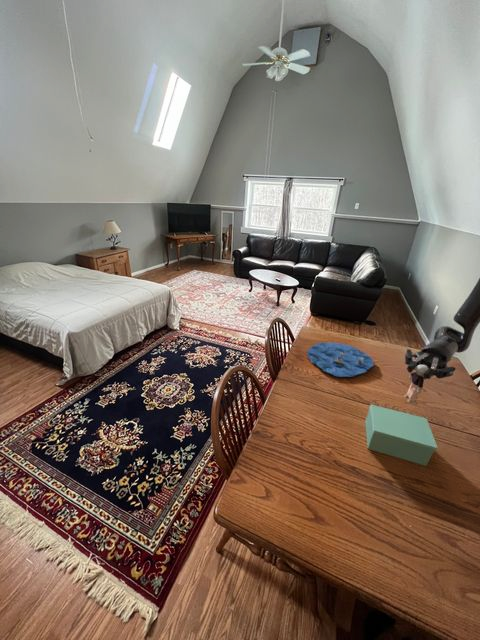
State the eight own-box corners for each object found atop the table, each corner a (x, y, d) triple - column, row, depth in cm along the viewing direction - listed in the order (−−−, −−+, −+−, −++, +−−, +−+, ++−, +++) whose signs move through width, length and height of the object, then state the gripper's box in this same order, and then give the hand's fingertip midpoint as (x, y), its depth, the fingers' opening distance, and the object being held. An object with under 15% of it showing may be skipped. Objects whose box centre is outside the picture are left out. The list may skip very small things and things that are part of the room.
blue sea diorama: (300, 371, 118) (302, 361, 115) (311, 340, 143) (313, 331, 140) (374, 388, 107) (377, 377, 105) (372, 351, 132) (374, 342, 130)
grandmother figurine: (423, 407, 80) (438, 373, 75) (411, 407, 80) (425, 372, 75) (409, 390, 87) (422, 357, 82) (397, 390, 87) (409, 357, 81)
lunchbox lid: (425, 420, 83) (426, 418, 83) (436, 450, 74) (437, 448, 73) (370, 406, 88) (370, 404, 88) (373, 432, 78) (374, 430, 78)
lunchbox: (416, 435, 87) (424, 419, 84) (426, 466, 77) (434, 449, 74) (365, 421, 91) (370, 406, 88) (367, 448, 81) (373, 432, 78)
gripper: (417, 335, 91) (395, 351, 80) (468, 353, 81) (451, 374, 71) (410, 353, 94) (388, 371, 84) (458, 373, 84) (440, 396, 74)
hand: (417, 373), depth 77 cm, fingers closed on grandmother figurine, 3 cm apart
